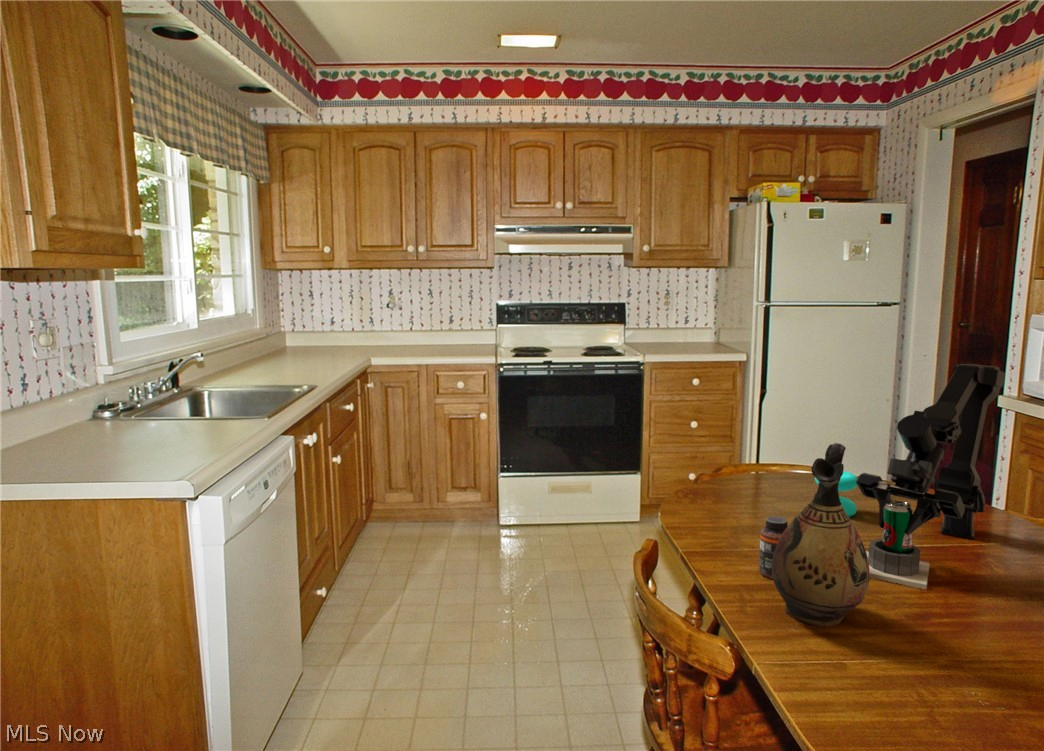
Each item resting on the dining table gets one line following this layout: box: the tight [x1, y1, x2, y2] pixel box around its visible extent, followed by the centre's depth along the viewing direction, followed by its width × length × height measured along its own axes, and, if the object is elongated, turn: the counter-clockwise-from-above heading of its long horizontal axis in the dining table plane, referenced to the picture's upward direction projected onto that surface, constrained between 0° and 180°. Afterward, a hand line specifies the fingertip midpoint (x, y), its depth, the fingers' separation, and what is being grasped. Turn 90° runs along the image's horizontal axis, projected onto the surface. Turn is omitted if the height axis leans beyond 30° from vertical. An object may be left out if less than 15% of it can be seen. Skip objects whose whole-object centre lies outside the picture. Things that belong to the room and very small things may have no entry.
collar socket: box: [866, 538, 930, 591], centre depth 134 cm, size 12×12×5 cm
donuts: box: [814, 470, 858, 518], centre depth 168 cm, size 10×10×10 cm
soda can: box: [882, 500, 914, 554], centre depth 133 cm, size 5×5×12 cm
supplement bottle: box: [758, 516, 789, 580], centre depth 132 cm, size 6×6×11 cm
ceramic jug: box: [772, 442, 871, 627], centre depth 116 cm, size 17×15×30 cm
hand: (893, 530), depth 132 cm, fingers closed on soda can, 4 cm apart
